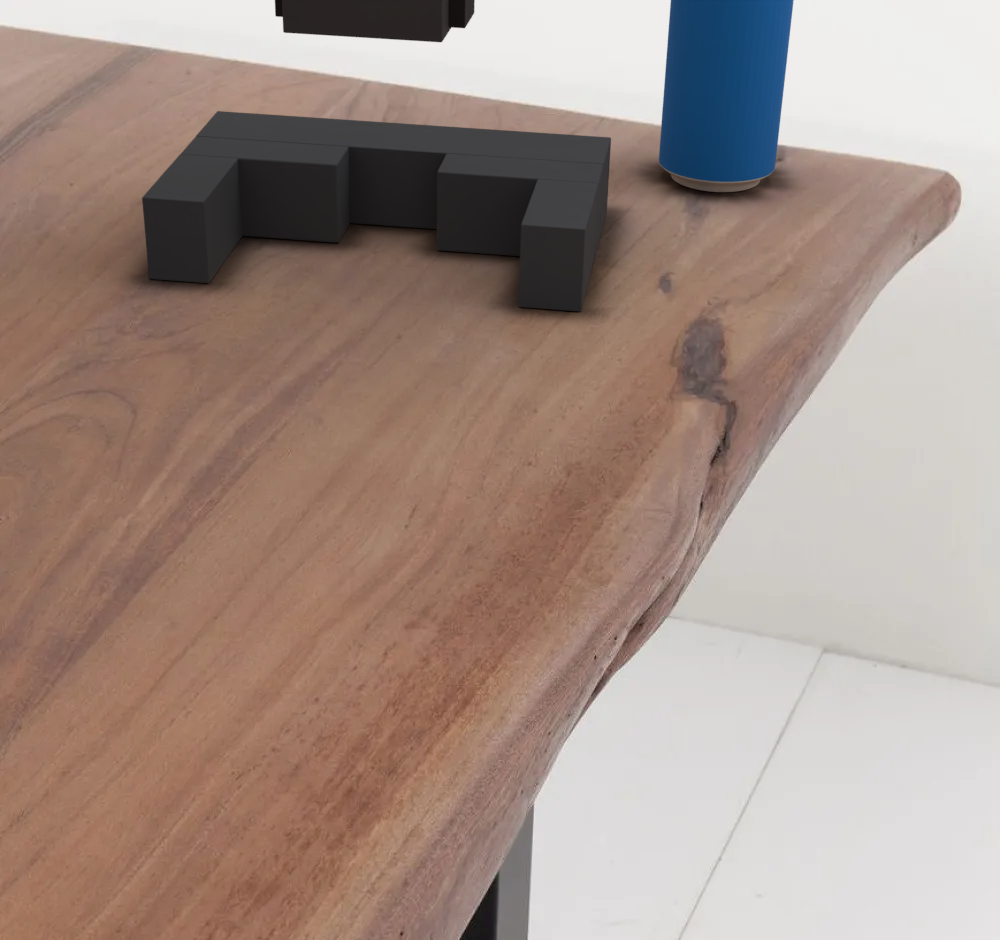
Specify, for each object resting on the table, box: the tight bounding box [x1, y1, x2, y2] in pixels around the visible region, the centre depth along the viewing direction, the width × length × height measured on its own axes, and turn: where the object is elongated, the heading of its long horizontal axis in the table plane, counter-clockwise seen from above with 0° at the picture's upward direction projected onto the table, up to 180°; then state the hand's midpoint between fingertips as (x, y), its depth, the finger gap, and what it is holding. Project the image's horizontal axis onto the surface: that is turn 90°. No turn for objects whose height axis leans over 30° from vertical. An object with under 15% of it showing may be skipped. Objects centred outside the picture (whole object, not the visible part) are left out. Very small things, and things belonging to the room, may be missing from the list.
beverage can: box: [658, 0, 795, 193], centre depth 102 cm, size 6×6×12 cm
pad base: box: [141, 110, 612, 312], centre depth 94 cm, size 21×14×4 cm, turn 82°
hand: (375, 13), depth 84 cm, fingers closed on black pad, 7 cm apart
